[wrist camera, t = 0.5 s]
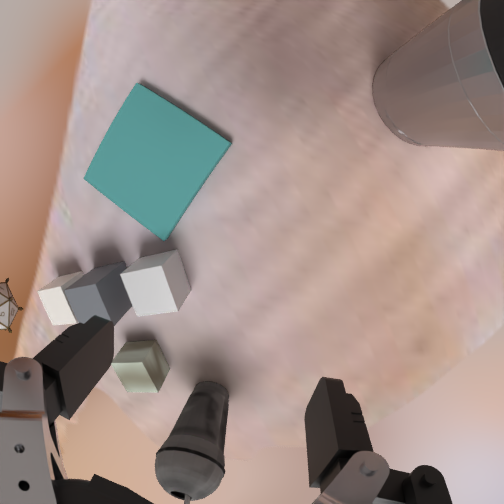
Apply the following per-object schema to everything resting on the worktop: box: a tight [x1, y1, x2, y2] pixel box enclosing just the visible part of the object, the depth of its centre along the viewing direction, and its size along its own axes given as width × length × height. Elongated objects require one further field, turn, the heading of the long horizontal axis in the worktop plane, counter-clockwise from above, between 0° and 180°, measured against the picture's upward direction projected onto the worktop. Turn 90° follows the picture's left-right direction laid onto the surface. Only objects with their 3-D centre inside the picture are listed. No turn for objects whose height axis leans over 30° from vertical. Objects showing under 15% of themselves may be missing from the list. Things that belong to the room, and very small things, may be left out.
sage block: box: [111, 340, 170, 392], centre depth 32 cm, size 4×4×4 cm
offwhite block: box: [37, 271, 84, 325], centre depth 31 cm, size 4×4×4 cm
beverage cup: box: [155, 381, 229, 504], centre depth 26 cm, size 7×7×20 cm
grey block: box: [120, 249, 191, 317], centre depth 28 cm, size 4×4×4 cm
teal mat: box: [84, 83, 232, 241], centre depth 26 cm, size 11×11×1 cm
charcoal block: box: [64, 261, 132, 326], centre depth 29 cm, size 4×4×6 cm
